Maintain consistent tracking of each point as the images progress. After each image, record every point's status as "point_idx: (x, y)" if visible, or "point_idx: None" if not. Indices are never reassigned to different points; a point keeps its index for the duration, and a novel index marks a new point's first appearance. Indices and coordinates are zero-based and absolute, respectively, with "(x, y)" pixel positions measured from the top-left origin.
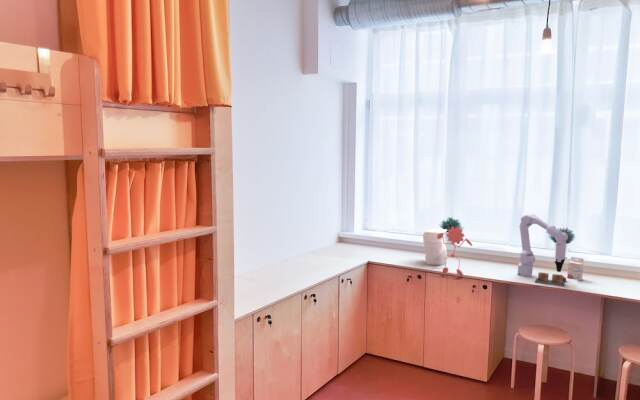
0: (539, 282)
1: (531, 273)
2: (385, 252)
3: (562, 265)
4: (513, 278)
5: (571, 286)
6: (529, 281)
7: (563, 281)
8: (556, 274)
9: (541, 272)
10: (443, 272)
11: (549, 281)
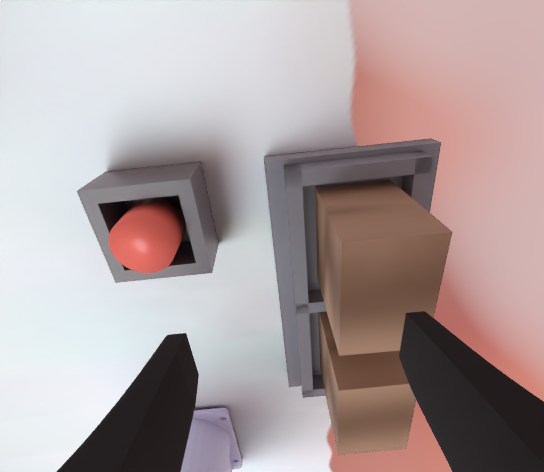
0: None
1: (194, 448)
2: None
3: (147, 411)
4: (309, 463)
5: (295, 71)
6: None
7: (201, 193)
8: (353, 317)
9: (342, 439)
10: None
11: None
